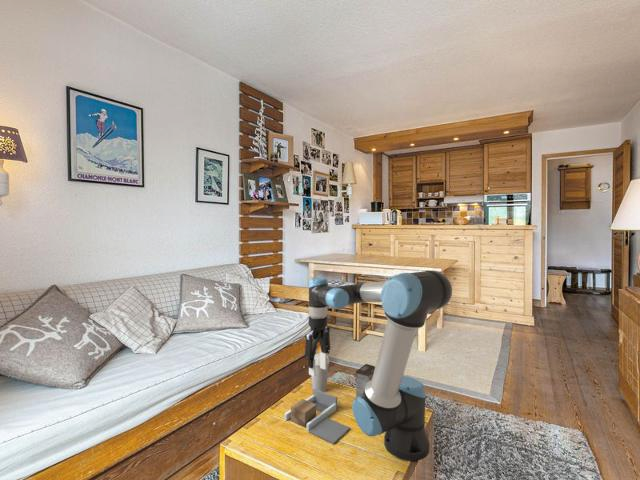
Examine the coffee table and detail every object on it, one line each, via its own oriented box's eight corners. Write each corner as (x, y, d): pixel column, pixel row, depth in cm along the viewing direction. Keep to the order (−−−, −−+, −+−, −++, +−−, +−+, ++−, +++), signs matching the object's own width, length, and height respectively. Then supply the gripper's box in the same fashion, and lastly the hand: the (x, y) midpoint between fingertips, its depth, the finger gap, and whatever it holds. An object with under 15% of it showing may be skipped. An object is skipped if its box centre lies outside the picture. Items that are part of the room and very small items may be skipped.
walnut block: (316, 419, 134) (316, 404, 134) (304, 428, 128) (304, 412, 128) (302, 413, 138) (302, 398, 138) (290, 421, 132) (290, 406, 132)
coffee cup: (329, 394, 153) (330, 361, 152) (308, 393, 153) (308, 361, 152) (329, 384, 163) (329, 353, 162) (309, 383, 163) (309, 352, 162)
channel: (337, 408, 141) (337, 397, 141) (308, 431, 126) (308, 418, 126) (314, 399, 148) (314, 388, 148) (284, 420, 133) (284, 407, 133)
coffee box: (365, 399, 149) (366, 363, 148) (379, 404, 145) (379, 367, 144) (355, 409, 141) (355, 370, 140) (369, 414, 137) (369, 374, 137)
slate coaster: (350, 429, 128) (350, 427, 127) (333, 444, 119) (333, 442, 119) (326, 418, 134) (326, 417, 134) (308, 432, 125) (308, 431, 125)
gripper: (324, 309, 148) (324, 361, 150) (294, 320, 132) (294, 378, 134) (339, 312, 144) (338, 366, 145) (310, 323, 128) (309, 383, 129)
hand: (317, 371), depth 139 cm, fingers open, 7 cm apart
